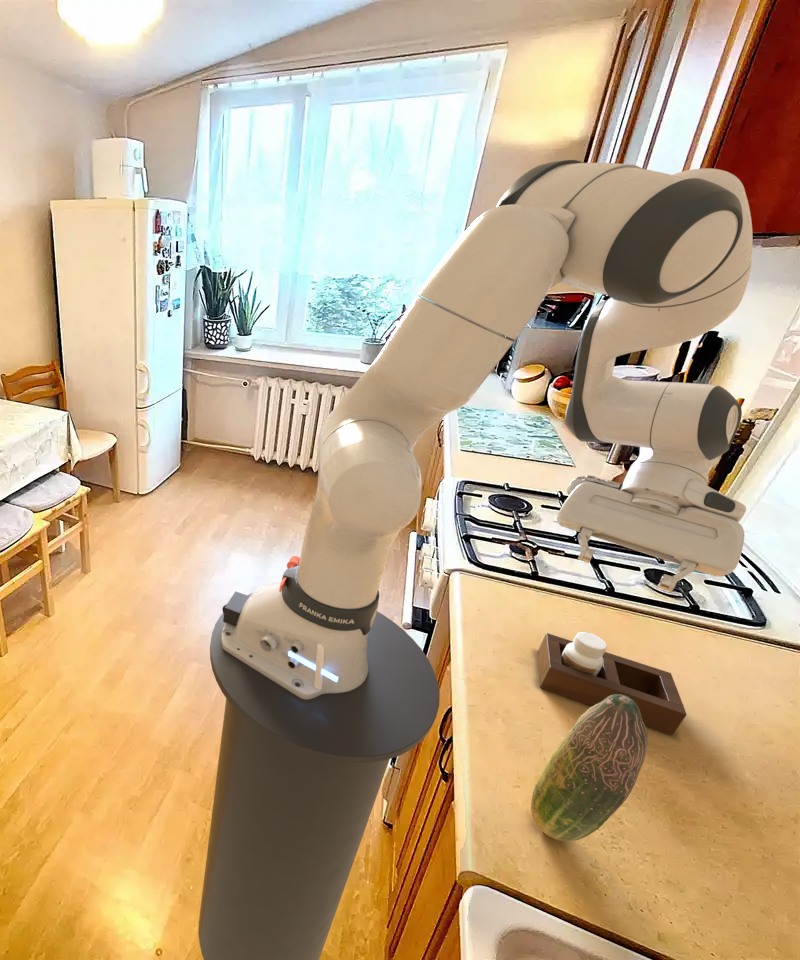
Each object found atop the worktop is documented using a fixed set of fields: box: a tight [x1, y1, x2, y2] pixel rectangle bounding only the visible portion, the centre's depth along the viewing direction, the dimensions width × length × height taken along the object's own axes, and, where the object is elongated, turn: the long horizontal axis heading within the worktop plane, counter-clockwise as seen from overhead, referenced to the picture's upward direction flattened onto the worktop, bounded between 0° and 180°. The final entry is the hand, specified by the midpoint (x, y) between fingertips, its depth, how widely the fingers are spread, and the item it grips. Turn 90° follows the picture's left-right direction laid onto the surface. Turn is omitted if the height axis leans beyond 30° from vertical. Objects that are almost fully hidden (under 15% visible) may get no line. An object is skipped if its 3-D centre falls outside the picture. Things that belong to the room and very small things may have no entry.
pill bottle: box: [561, 631, 608, 676], centre depth 73 cm, size 4×4×8 cm
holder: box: [536, 632, 687, 736], centre depth 73 cm, size 8×14×4 cm, turn 59°
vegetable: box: [530, 694, 649, 842], centre depth 52 cm, size 6×6×20 cm
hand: (622, 573), depth 76 cm, fingers open, 8 cm apart
